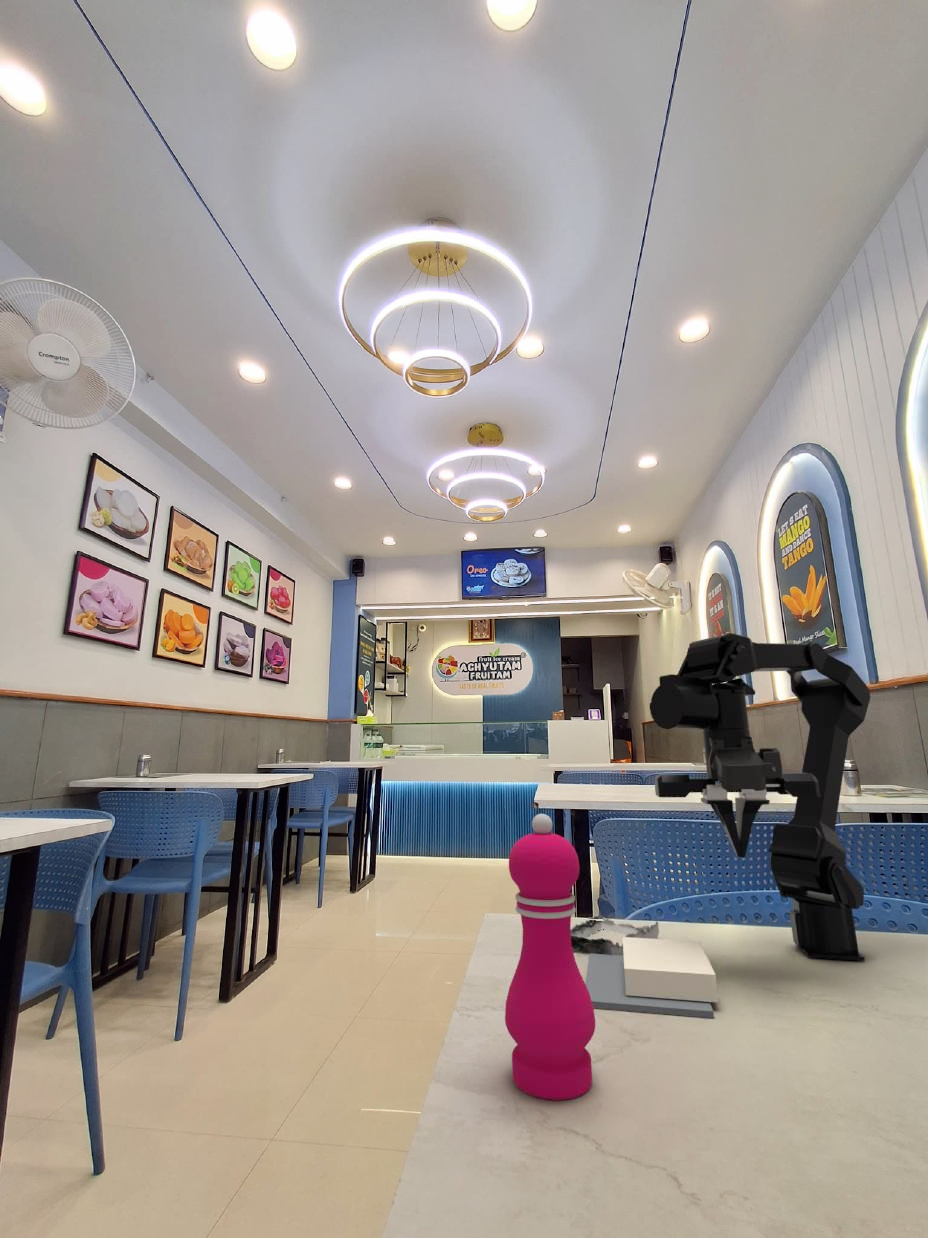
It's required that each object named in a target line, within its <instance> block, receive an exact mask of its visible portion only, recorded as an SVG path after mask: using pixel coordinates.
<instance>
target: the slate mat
mask: <svg viewBox="0 0 928 1238" xmlns="http://www.w3.org/2000/svg"><path fill="white" fill-rule="evenodd" d="M586 970H587V971H586V977H585V985H586V987H587V989H588V991H589V994H590V997H591V1000H592V1004H593V1008H594V1009H601V1010H609V1011H610V1010H613V1011H622V1012H623V1011H625V1012H636V1013H647V1014H648V1013H649V1014H657V1015H658V1014H659V1015H660V1014H661V1015H671V1016H682V1017H683V1016H684V1017H695V1018H704V1019H705V1018H706V1019H715V1015H714V1014H715V1013H714V1009H713V1007H712V1005H711V1002H705V1001H692V1000H680V999H667V998H655V997H642V996H630V995H626V987H625V972H624V956H621V955H606V954H590V953H589V954H588V963H587V969H586Z"/></svg>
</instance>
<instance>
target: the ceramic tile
mask: <svg viewBox="0 0 928 1238" xmlns="http://www.w3.org/2000/svg"><path fill="white" fill-rule="evenodd" d="M622 945H623V954H624V972H625V987H626V995H630V996H642V997H655V998H667V999H680V1000H692V1001H705V1002H710V1003H719V994H718V986H717V976H716V975H717V974H716V972H715V971H714V968H713V967H712V964H711V962H710V960H709V958H708V956H707V955H706V952H705V950H704V948H703V946H702V943H701V942H700V941H698V940H697V941H696V940H684V939H683V940H680V939H664V938H662V939H661V938H658V939H649V938H631V937H625V936H622Z"/></svg>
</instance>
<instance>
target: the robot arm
mask: <svg viewBox="0 0 928 1238" xmlns="http://www.w3.org/2000/svg"><path fill="white" fill-rule="evenodd" d="M688 646H689V647H688V648H687V651H686V655H685V657H684V659H683V661H682V663H681V665H680V668H679V670H678V673H677V674H672V673H671V674H665V675H660V676H659V680H658V681H659V685H658V686H657V688H655V690H654V692H653V693H652V696H651V700H650V703H649V712H650V715H651V718H652V720H653V722H654V723H655V724H656V725H657V726H658V727H660V728H661V729H664V730H687V731H688V730H691V731H694V730H698V731H699V730H702V731H701V732H702V740H703V747H704V748H703V750H704V757H705V759H704V760H705V767H706V775H707V778H690V775H689V774H688V773H687V774H686V773H668V774H667V773H660V774H659V773H658V774H657V775H656V776H655V778H654V791H655V796H656V797H658V798H686V797H687V796H688V795H689V794H690V793H700V794H701V795H702V797H700V802H701V803H704V804H705V805H710V807H711V808H712V810H713V812H714V813H715V815H716V817H717V818H718V820H719V821H720V824H721V825H722V828H723V830H724V832H725V835H726V836H727V839H728V841H729V843H730V845H731V847H732V849H733V851H734V853H735V856H736V857H737V858H746V853H747V850H748V845H749V841H750V836H751V833H752V832H751V831H752V828H753V825H754V821H755V819H756V816H757V814H758V812H759V810H760V809H761V807H762V806H763V805H765V806H766V805H770V799H767V795H768V793H778V794H779V795H790V796H791V797H794V798H796V801H795V807H794V813H793V817H792V819H791V820H790V821H789V822H788V823H787V824H783V823H776V824H775V826H774V828H772V830H773V831H772V840H771V844H770V846H769V848H768V853H770V856H769V867H770V870H771V873H772V876H773V879H774V880H775V884H776V886H777V889H778V891H779V895H780V897H781V898H790V899H792V906H793V909H790V910H789V917H790V918H789V919H790V924H791V933H792V941H793V943H794V944H795V945H796V947H798V949H799V950H800V951H801V952H802V953H803V954H804V955H806V956H807V957H809V958H812V959H813V958H817V959H832V960H847V961H848V960H849V961H865V960H866V959H865V955H863V953H862V952H860V951H859V946H858V945H859V944H858V939H857V933H856V932H857V931H856V927H855V920H854V915H853V914H854V913H853V909H854V910H857V909H858V910H859V909H860V907H863V906H864V900H865V898H864V897H865V890H864V887H863V886H862V885H861V883H860V882H859V881H858V879H857V878H856V877H855V876H854V874H853V873H852V872H851V870H850V869H849V868H848V867H847V865H846V852H845V849H844V847H843V845H842V843H841V841H840V839H839V837H838V835H837V833H836V825H837V824H836V823H837V817H838V811H839V803H840V798H841V797H840V796H841V789H842V783H843V777H844V772H845V770H844V769H845V764H846V757H847V749H848V743H849V737H850V736H851V735H852V733H854V732H855V731H856V730H857V728H859V726H861V725H862V724H863V722H864V721H865V718H866V716H867V715H866V714H867V711H868V709H869V704H870V701H871V692H870V689H869V687H868V685H867V684H866V683H865V682H864V680H863V679H862V678H861V677H860V676H859V674H858V673H857V672H856V671H855V669H854V668H853V667H852V666H851V665H848V664H847V663H845V662H843V661H841V660H839V659H838V658H836V657H834V656H832V655H830V654H829V653H827V651H826V650H825V649H824V648H823V646H822V645H820V644H819V643H817V642H811V641H810V642H805V643H781V642H780V643H778V642H777V643H774V642H773V643H770V642H769V643H765V642H764V643H761V642H754V641H752V639H751V638H750V637H749V636H745V635H741V634H739V633H738V634H737V633H731V632H729V633H725V634H721V635H717V636H712V637H708V638H703V639H701V640H696V641H692V642H690V643H689V645H688ZM812 670H815V671H817V672H818V673H819V674H820V675H823V676H824V677H826V678H820V679H819V678H818V679H812V680H809V681H808V680H807V679H806V678H805V677H804V676H803V674H802V673H803V672H805V671H806V672H807V671H812ZM755 672H786V673H787V674H788V675H789V676H790V677H789V678H790V690H791V692H792V693H793V694H794V696H795V697H796V698H797V699H798V700H799V702H800V704H801V705H800V706H801V707H800V711H801V713H802V715H803V717H804V719H805V720H806V722H807V724H808V727H809V729H808V735H807V742H806V747H805V753H804V756H803V757H804V758H803V764H802V768H801V769H802V770H801V772H783V764H782V759H781V754H780V753H781V752H780V750H779V749H778V748H776V747H771V748H769V747H764V748H763V747H761V748H759V749H758V750H759V751H757V752H756V750H755V748H754V742H753V739H752V736H751V733H750V732H751V731H750V723H749V717H748V716H749V715H748V708H747V702H746V697H748V696H749V697H750V696H755V695H756V690H755V689H753V687H752V686H751V685H749V684H747V683H746V682H745V681H744V680H743V678H741V677H740V678H736V677H739V676H744V675H747V674H751V673H755ZM716 782H719V783H716ZM728 793H738V795H739V797H735V798H734V801H735V802H734V803H735V813H734V804H733V800H732V799H729V798H728Z"/></svg>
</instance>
